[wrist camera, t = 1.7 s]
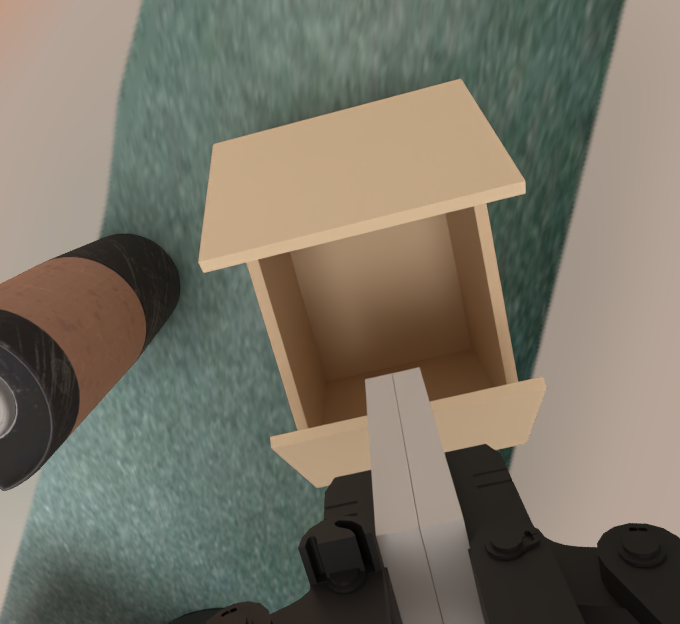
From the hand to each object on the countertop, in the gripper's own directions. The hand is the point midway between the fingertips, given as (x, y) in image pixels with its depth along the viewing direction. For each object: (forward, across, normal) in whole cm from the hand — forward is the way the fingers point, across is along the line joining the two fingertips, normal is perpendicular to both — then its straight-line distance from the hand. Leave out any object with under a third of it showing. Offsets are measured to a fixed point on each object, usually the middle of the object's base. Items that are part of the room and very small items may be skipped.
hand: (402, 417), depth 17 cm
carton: (+26, 0, +1) cm, 26 cm away
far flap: (+11, 0, +7) cm, 13 cm away
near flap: (+10, 0, -6) cm, 12 cm away
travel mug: (+26, +17, -1) cm, 31 cm away
